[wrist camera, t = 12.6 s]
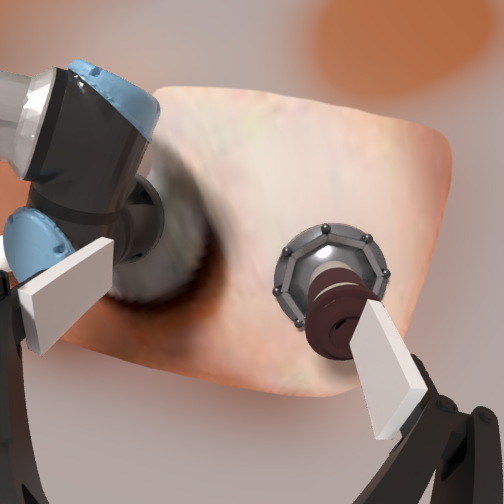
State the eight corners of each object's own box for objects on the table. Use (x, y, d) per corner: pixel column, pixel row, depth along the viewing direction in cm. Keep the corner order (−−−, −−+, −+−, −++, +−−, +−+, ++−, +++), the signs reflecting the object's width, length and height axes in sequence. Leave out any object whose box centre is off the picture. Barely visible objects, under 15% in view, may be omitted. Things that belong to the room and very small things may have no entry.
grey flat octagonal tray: (263, 316, 52) (262, 323, 50) (288, 211, 46) (289, 214, 44) (364, 335, 52) (366, 342, 50) (399, 238, 46) (404, 242, 44)
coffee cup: (367, 301, 48) (393, 356, 34) (308, 316, 50) (315, 376, 36) (357, 243, 46) (386, 285, 31) (293, 260, 47) (296, 308, 33)
